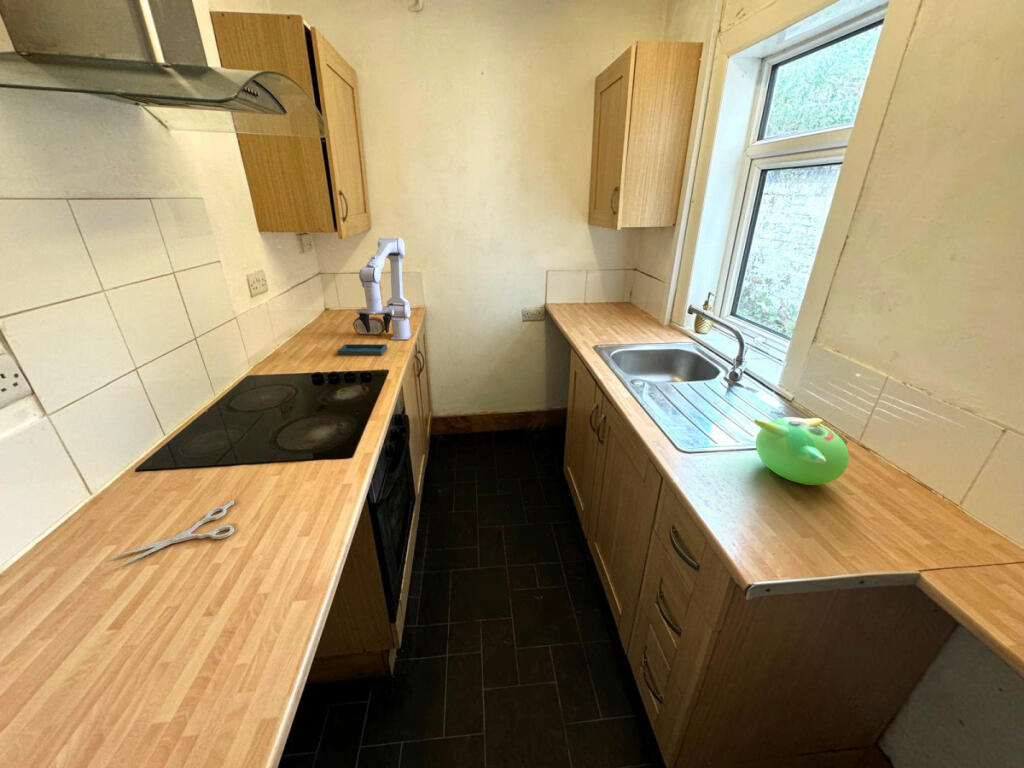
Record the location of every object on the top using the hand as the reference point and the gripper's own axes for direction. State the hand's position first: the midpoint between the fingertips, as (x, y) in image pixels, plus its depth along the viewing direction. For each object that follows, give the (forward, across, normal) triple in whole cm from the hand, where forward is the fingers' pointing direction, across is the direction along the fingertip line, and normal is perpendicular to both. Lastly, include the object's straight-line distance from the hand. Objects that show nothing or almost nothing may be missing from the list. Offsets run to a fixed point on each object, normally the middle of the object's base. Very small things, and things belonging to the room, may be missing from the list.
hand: (378, 332), depth 169 cm
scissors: (+9, -5, -102) cm, 103 cm away
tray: (+10, -9, +3) cm, 13 cm away
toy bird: (+10, +124, -76) cm, 146 cm away
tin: (+10, -14, +27) cm, 32 cm away
